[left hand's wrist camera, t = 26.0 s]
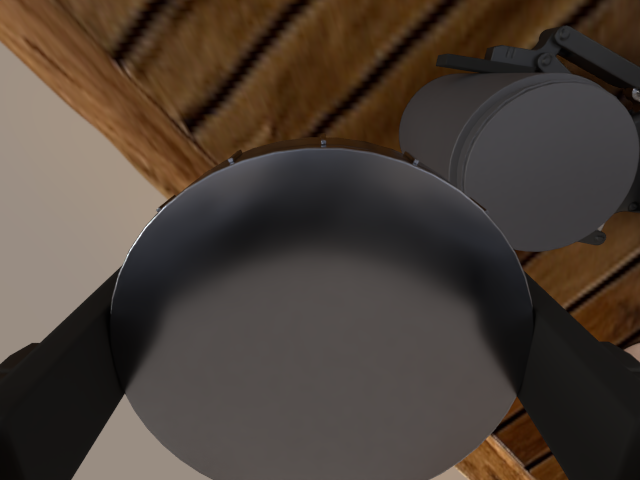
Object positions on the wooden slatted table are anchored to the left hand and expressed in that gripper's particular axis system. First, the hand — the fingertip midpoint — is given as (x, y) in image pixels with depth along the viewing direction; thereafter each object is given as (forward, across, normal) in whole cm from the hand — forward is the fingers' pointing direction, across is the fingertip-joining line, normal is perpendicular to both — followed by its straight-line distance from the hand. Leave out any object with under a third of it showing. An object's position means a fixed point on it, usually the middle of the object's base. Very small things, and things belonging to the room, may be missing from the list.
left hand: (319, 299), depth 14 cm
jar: (+28, +13, +2) cm, 31 cm away
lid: (-3, 0, 0) cm, 3 cm away
